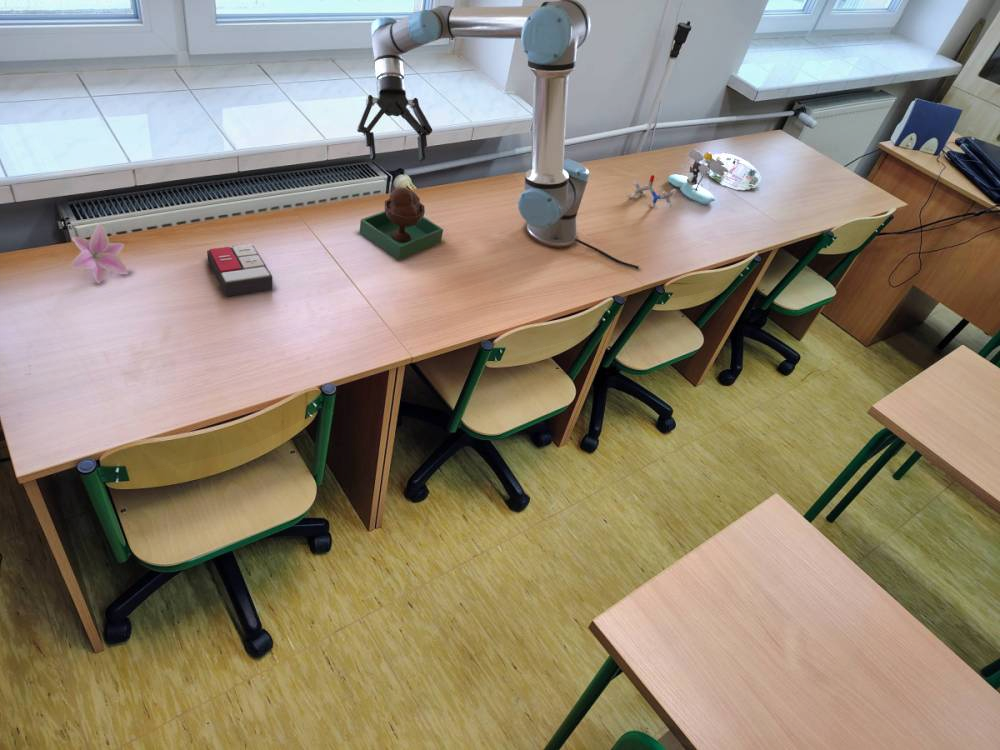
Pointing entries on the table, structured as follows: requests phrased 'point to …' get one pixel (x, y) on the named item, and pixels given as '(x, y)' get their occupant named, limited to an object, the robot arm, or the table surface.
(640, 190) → the molecular model
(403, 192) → the ice cream bowl
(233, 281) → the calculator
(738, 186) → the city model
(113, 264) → the lily
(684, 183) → the figurine on stand
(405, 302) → the table surface
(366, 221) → the bin
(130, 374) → the table surface
